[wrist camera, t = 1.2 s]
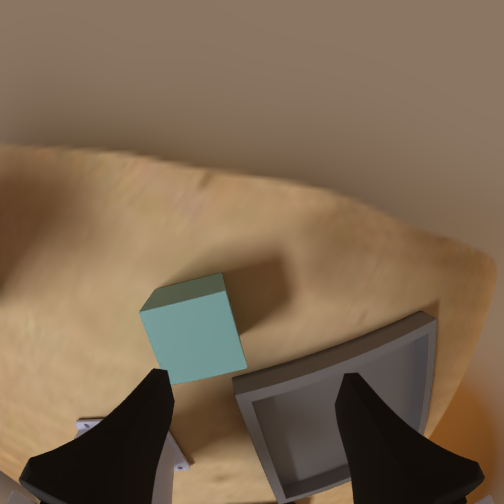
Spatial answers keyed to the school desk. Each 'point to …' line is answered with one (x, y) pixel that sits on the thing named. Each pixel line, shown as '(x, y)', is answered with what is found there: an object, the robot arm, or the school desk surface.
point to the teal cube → (193, 330)
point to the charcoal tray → (333, 402)
